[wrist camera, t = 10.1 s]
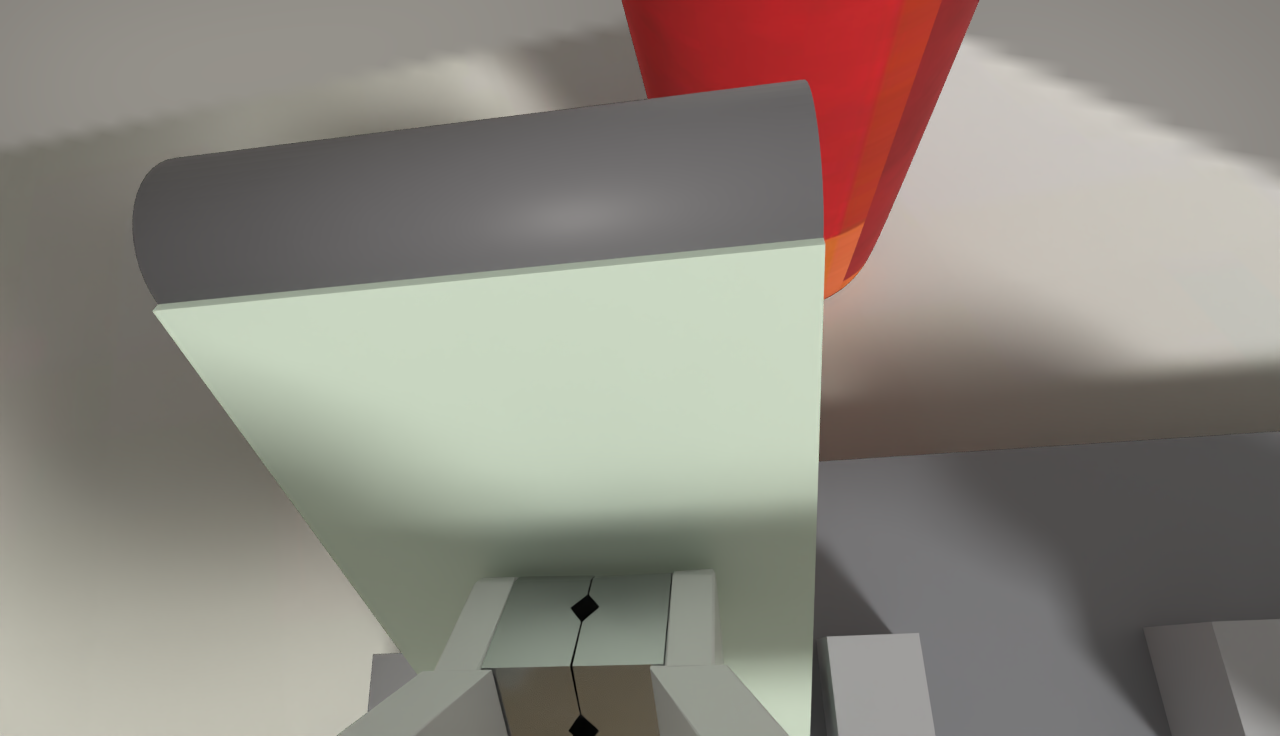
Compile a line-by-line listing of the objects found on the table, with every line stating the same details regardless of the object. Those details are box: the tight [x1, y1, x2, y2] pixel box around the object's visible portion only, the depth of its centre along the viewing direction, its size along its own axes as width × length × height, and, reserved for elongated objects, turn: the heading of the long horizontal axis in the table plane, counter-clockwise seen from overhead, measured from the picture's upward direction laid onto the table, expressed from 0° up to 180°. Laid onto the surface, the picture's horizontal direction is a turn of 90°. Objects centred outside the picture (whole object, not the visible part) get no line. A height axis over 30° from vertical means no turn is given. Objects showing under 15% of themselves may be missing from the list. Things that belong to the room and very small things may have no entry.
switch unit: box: [368, 431, 1280, 736], centre depth 15 cm, size 26×10×5 cm, turn 92°
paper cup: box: [622, 0, 979, 299], centre depth 16 cm, size 8×8×14 cm
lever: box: [133, 79, 825, 736], centre depth 11 cm, size 6×2×13 cm, turn 92°
